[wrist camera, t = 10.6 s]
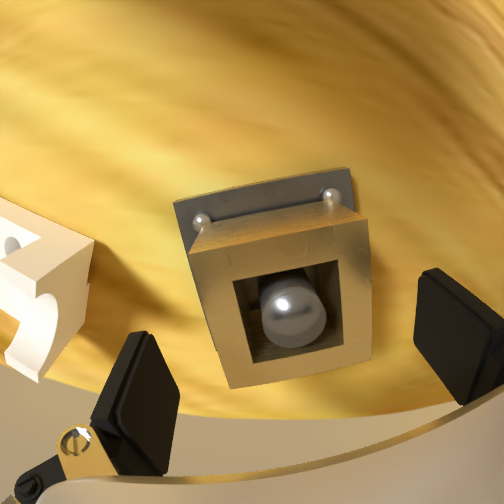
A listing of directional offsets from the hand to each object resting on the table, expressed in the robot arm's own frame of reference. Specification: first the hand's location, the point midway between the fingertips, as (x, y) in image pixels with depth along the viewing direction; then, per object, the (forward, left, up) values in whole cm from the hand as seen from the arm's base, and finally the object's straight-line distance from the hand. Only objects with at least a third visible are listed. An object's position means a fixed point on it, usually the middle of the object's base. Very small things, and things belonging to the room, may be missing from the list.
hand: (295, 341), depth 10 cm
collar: (+1, 0, -8) cm, 8 cm away
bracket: (-4, -18, -10) cm, 21 cm away
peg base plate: (+1, 0, -9) cm, 9 cm away
